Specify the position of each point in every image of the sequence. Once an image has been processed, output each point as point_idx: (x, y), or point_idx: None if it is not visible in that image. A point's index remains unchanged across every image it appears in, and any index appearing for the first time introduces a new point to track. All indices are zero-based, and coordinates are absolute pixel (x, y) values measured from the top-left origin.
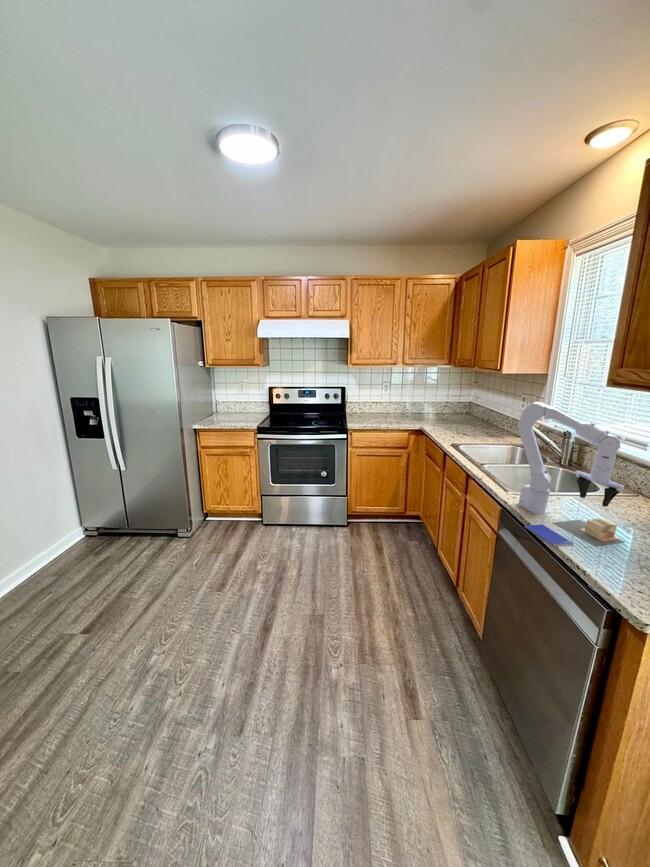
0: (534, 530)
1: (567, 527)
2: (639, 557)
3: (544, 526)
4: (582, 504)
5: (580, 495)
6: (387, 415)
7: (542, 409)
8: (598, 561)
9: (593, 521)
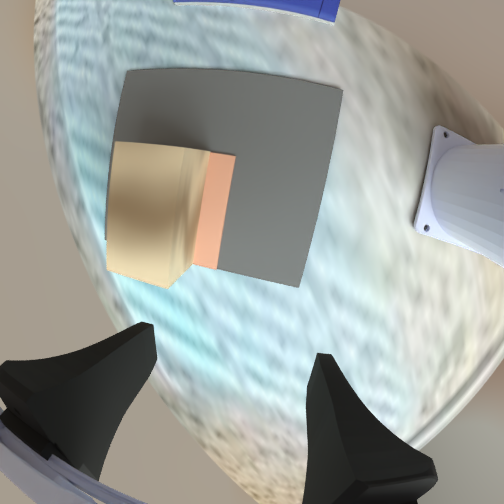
0: None
1: (275, 114)
2: (56, 173)
3: (317, 5)
4: None
5: (331, 361)
6: None
7: None
8: (100, 14)
9: (158, 166)
